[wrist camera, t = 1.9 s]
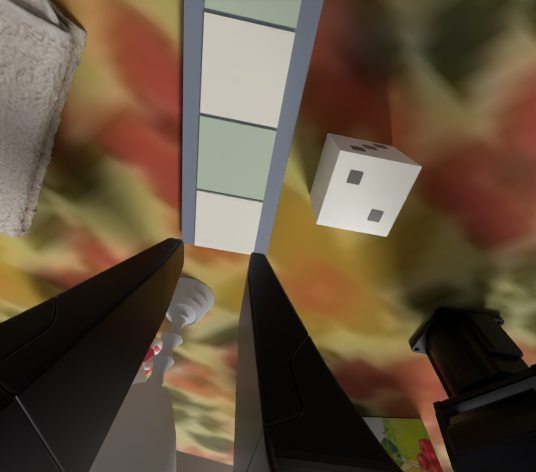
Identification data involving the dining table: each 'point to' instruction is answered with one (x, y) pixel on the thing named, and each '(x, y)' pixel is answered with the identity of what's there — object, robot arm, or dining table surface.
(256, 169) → the track board
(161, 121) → the dining table surface
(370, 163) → the die
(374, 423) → the snack box
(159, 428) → the chalice
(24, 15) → the washcloth
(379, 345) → the dining table surface
